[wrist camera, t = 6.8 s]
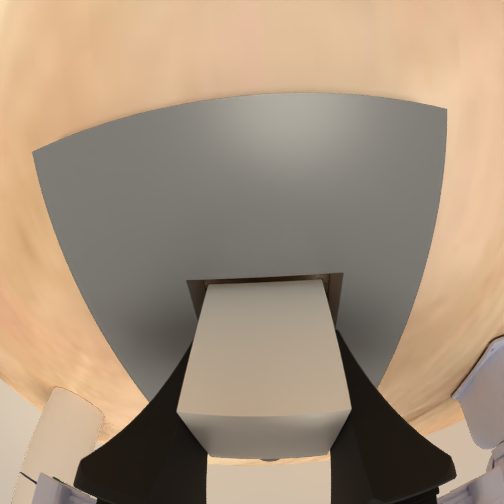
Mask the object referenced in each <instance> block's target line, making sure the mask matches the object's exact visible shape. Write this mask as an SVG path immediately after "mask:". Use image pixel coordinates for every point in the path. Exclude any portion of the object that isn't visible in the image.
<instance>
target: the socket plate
mask: <svg viewBox="0 0 504 504" xmlns="http://www.w3.org/2000/svg"><path fill="white" fill-rule="evenodd" d="M446 136H447V109H445V108H440V107H436V106H431V105H426V104H421V103H416V102H410V101H404V100H398V99H391V98H383V97H374V96H364V95H352V94H335V93H276V94H259V95H246V96H236V97H227V98H219V99H211V100H204V101H198V102H192V103H186V104H181V105H176V106H171V107H166V108H161V109H157V110H152V111H148V112H144V113H140V114H136V115H132V116H129V117H125V118H121V119H118V120H115V121H111V122H108V123H105V124H102V125H99V126H96V127H93V128H90V129H87V130H84V131H81V132H79V133H76V134H73V135H71V136H68V137H66V138H63V139H61V140H58V141H56V142H53V143H51V144H49V145H46V146H44V147H42V148H40V149H37V150H35V151H33V152H32V153H33V158H34V163H35V167H36V171H37V175H38V179H39V183H40V187H41V191H42V194H43V198H44V201H45V204H46V208H47V211H48V214H49V217H50V220H51V223H52V226H53V229H54V231H55V234H56V237H57V239H58V242H59V245H60V247H61V250H62V252H63V255H64V257H65V260H66V262H67V264H68V267H69V269H70V271H71V273H72V276H73V278H74V280H75V282H76V284H77V286H78V288H79V290H80V293H81V295H82V297H83V299H84V301H85V303H86V304H87V306H88V308H89V310H90V312H91V314H92V316H93V318H94V319H95V321H96V323H97V325H98V327H99V328H100V330H101V332H102V333H103V335H104V337H105V339H106V340H107V342H108V344H109V345H110V347H111V348H112V350H113V352H114V353H115V355H116V356H117V358H118V359H119V361H120V362H121V364H122V365H123V367H124V368H125V370H126V371H127V373H128V374H129V376H130V377H131V379H132V380H133V381H134V383H135V384H136V385H137V387H138V388H139V390H140V391H141V392H142V394H143V395H144V396H145V398H146V399H147V400H148V401H149V403H150V401H151V400H152V399H153V398H154V397H155V395H156V394H157V393H158V392H159V390H160V389H161V388H162V386H163V385H164V384H165V382H166V381H167V380H168V378H169V377H170V375H171V374H172V372H173V371H174V369H175V368H176V366H177V365H178V363H179V362H180V360H181V359H182V357H183V355H184V354H185V352H186V351H187V349H188V347H189V346H190V344H191V342H192V340H193V339H194V337H195V333H196V329H197V325H198V322H199V318H200V314H201V310H202V306H203V303H204V299H205V295H206V290H205V286H204V282H203V280H207V279H234V278H256V277H277V276H295V275H312V274H328V273H330V282H329V292H328V305H329V309H330V313H331V317H332V321H333V325H334V329H335V330H338V331H339V332H340V334H341V335H342V337H343V339H344V341H345V343H346V344H347V346H348V348H349V349H350V351H351V353H352V354H353V356H354V358H355V359H356V361H357V362H358V364H359V365H360V367H361V368H362V370H363V371H364V372H365V374H366V375H367V377H368V378H369V380H370V381H371V382H372V384H373V385H374V386H375V387H376V389H377V388H378V386H379V384H380V382H381V380H382V378H383V376H384V374H385V372H386V370H387V368H388V365H389V363H390V361H391V359H392V357H393V354H394V352H395V350H396V348H397V345H398V343H399V341H400V338H401V336H402V333H403V331H404V328H405V326H406V323H407V320H408V318H409V315H410V312H411V310H412V307H413V304H414V301H415V298H416V295H417V292H418V289H419V286H420V282H421V279H422V276H423V272H424V269H425V265H426V262H427V258H428V254H429V250H430V246H431V242H432V237H433V233H434V228H435V223H436V218H437V213H438V208H439V202H440V195H441V189H442V181H443V173H444V164H445V152H446Z"/></svg>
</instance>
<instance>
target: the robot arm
mask: <svg viewBox="0 0 504 504" xmlns="http://www.w3.org/2000/svg"><path fill="white" fill-rule="evenodd" d="M335 333H336V337H337V341H338V346H339V350H340V354H341V359H342V363H343V368H344V373H345V377H346V382H347V387H348V392H349V397H350V403H351V408H352V409H351V411H350V413H349V415H348V417H347V419H346V421H345V423H344V425H343V427H342V429H341V431H340V432H339V434H338V436H337V438H336V440H335V441H334V443H333V445H332V447H331V448H330V455H331V504H504V336H503V337H501V338H498V339H496V340H494V341H492V342H491V344H490V345H489V347H488V348H487V350H486V351H485V353H484V354H483V356H482V357H481V359H480V360H479V362H478V363H477V364H476V366H475V367H474V369H473V370H472V371H471V373H470V374H469V375H468V377H467V378H466V379H465V381H464V382H463V383H462V384H461V386H460V387H459V388H458V389H457V390H456V392H455V393H454V394H453V395H452V397H451V398H452V400H455V399H457V398H458V400H459V402H460V405H461V408H462V410H463V413H464V416H465V419H466V421H467V424H468V427H469V430H470V433H471V436H472V439H473V441H474V442H475V444H476V445H477V446H479V447H480V448H482V449H492V448H495V447H496V448H495V449H494V450H492V456H491V458H490V460H489V463H488V466H487V469H486V473H485V474H484V475H482V476H480V477H478V478H475V479H473V480H471V481H469V482H467V483H465V484H464V485H462V486H460V487H458V488H456V489H454V490H452V491H450V493H448V494H446V495H444V496H442V497H439V498H436V495H437V494H439V488H438V486H440V485H443V484H445V483H447V482H449V481H451V480H453V479H455V478H456V476H457V475H456V470H455V466H454V463H453V461H452V458H451V456H450V455H448V454H447V453H445V452H444V451H442V450H440V449H439V448H438V447H436V446H435V445H433V444H432V443H431V442H429V441H428V440H427V439H426V438H424V437H423V436H422V435H421V434H419V433H418V432H417V431H416V430H415V429H414V428H413V427H412V426H411V425H409V424H408V423H407V422H406V421H405V420H404V419H403V418H402V417H401V416H400V415H399V414H398V413H397V412H396V411H395V410H394V409H393V408H392V407H391V405H390V404H389V403H388V402H387V401H386V400H385V399H384V397H383V396H382V395H381V394H380V393H379V391H378V390H377V389H376V387H375V386H374V385H373V384H372V382H371V381H370V380H369V378H368V377H367V375H366V374H365V372H364V371H363V370H362V368H361V367H360V365H359V364H358V362H357V361H356V359H355V358H354V356H353V354H352V353H351V351H350V349H349V348H348V346H347V344H346V343H345V341H344V339H343V337H342V335H341V334H340V332H339V331H338V330H335ZM193 341H194V339H193V340H192V342H191V344H190V346H189V347H188V349H187V351H186V352H185V354H184V355H183V357H182V359H181V360H180V362H179V363H178V365H177V366H176V368H175V369H174V371H173V372H172V374H171V375H170V377H169V378H168V380H167V381H166V382H165V384H164V385H163V386H162V388H161V389H160V390H159V392H158V393H157V394H156V395H155V397H154V398H153V399H152V400H151V401H150V403H149V404H148V405H147V406H146V407H145V408H144V409H143V410H142V412H141V413H140V414H139V415H138V416H137V417H136V418H135V419H134V420H133V421H132V422H131V423H130V424H128V425H127V426H126V427H125V428H124V429H123V430H122V431H121V432H119V433H118V434H117V435H116V436H114V437H113V438H112V439H111V440H109V441H108V442H107V443H106V444H104V445H103V446H102V447H100V448H98V449H97V450H95V451H94V452H92V453H91V454H89V455H87V456H86V457H84V458H82V459H81V460H80V463H79V465H78V469H77V472H76V476H75V479H74V483H73V485H74V487H75V488H77V489H79V490H81V491H83V492H85V493H88V494H90V495H92V496H94V497H96V498H97V500H96V499H93V498H91V497H90V496H89V495H87V494H84V493H82V492H80V491H78V490H76V489H74V488H72V487H70V486H68V485H66V484H63V483H61V482H59V481H57V480H55V479H53V478H51V477H49V476H48V475H46V474H44V473H42V472H41V473H40V475H39V478H38V482H37V485H36V489H35V492H34V496H33V500H32V504H206V474H207V455H208V452H207V451H206V450H205V449H204V448H203V446H202V445H201V444H200V443H199V441H198V440H197V439H196V437H195V436H194V435H193V434H192V432H191V431H190V430H189V428H188V427H187V426H186V424H185V423H184V422H183V420H182V419H181V417H180V416H179V415H178V413H177V407H178V403H179V399H180V394H181V390H182V386H183V382H184V377H185V373H186V369H187V365H188V361H189V357H190V353H191V349H192V345H193ZM501 443H502V444H501ZM497 446H498V447H497Z"/></svg>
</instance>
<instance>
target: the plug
mask: <svg viewBox="0 0 504 504" xmlns="http://www.w3.org/2000/svg"><path fill="white" fill-rule="evenodd" d="M351 409H352V408H351V403H350V397H349V392H348V387H347V382H346V377H345V373H344V368H343V363H342V359H341V354H340V350H339V346H338V341H337V337H336V333H335V329H334V325H333V321H332V317H331V313H330V309H329V305H328V301H327V297H326V293H325V290H324V286H323V282H322V279H320V280H303V281H284V282H262V283H237V284H208V288H207V292H206V295H205V299H204V303H203V306H202V310H201V314H200V318H199V322H198V325H197V329H196V333H195V337H194V341H193V345H192V349H191V353H190V357H189V361H188V365H187V369H186V373H185V377H184V382H183V386H182V390H181V394H180V399H179V403H178V407H177V413H178V415H179V416H180V417H181V419H182V420H183V422H184V423H185V424H186V426H187V427H188V428H189V430H190V431H191V432H192V434H193V435H194V436H195V437H196V439H197V440H198V441H199V443H200V444H201V445H202V446H203V448H204V449H205V450H206V451H207V452H208V454H209V455H210V456H211V457H221V458H238V459H260V460H263V461H276V460H279V459H283V458H300V457H312V456H321V455H327V453H328V452H329V450H330V448H331V447H332V445H333V443H334V441H335V440H336V438H337V436H338V434H339V432H340V431H341V429H342V427H343V425H344V423H345V421H346V419H347V417H348V415H349V413H350V411H351Z"/></svg>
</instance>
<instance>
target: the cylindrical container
mask: <svg viewBox="0 0 504 504" xmlns="http://www.w3.org/2000/svg"><path fill="white" fill-rule="evenodd" d="M103 420H104V415H103V413H102V412H101V411H100V410H99V409H98V408H96V407H95V406H94V405H92V404H91V403H89V402H88V401H86V400H85V399H83V398H82V397H80V396H78V395H76V394H74V393H73V392H70V391H68V390H66V389H63V388H60V387H54V389H53V391H52V393H51V395H50V397H49V399H48V401H47V404H46V406H45V408H44V410H43V412H42V415H41V417H40V419H39V422H38V424H37V426H36V429H35V431H34V434H33V437H32V439H31V441H30V444H29V447H28V449H27V452H26V455H25V458H24V461H23V464H22V467H21V471H22V472H23V473H22V472H20V473H19V476H18V480H17V483H16V487H15V490H14V494H13V498H12V502H11V504H32V500H33V496H34V492H35V489H36V485H37V482H38V478H39V475H40V473H41V472H42V473H44V474H46V475H48V476H49V477H51V478H53V479H55V480H57V481H59V482H61V483H63V484H66V483H67V484H69V485H72V486H74V485H73V483H74V479H75V476H76V472H77V469H78V465H79V463H80V460H81V459H82V458H84V457H86V456H87V455H89V454H91V453H92V452H93V450H94V447H95V444H96V441H97V438H98V435H99V432H100V429H101V426H102V423H103ZM60 480H61V481H60ZM62 481H63V482H62ZM64 482H66V483H64ZM67 484H66V485H67ZM69 485H68V486H69ZM70 487H71V486H70ZM72 488H73V487H72ZM74 489H75V488H74ZM76 490H77V489H76ZM78 491H79V490H78ZM80 492H81V491H80Z"/></svg>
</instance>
